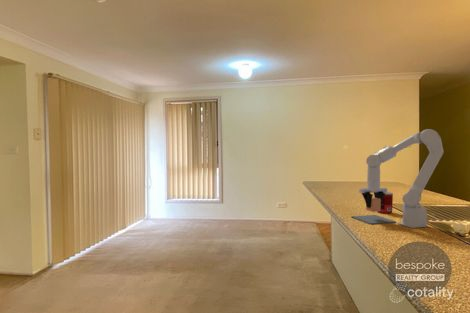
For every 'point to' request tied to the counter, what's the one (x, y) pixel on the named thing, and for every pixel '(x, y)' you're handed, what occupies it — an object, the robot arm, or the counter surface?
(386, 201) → the canned food
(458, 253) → the counter surface
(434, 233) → the counter surface
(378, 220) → the mat
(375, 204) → the block
